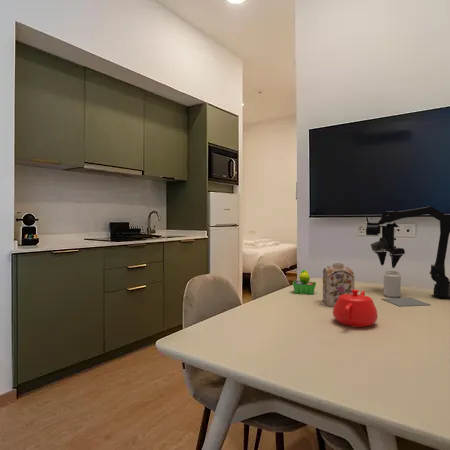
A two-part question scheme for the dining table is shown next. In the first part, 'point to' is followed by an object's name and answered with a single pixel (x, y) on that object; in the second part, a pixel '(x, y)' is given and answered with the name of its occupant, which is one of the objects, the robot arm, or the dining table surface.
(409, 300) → the mat
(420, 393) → the dining table surface
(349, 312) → the teapot
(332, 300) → the decorative jar
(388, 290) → the can
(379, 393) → the dining table surface
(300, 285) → the fruit basket
